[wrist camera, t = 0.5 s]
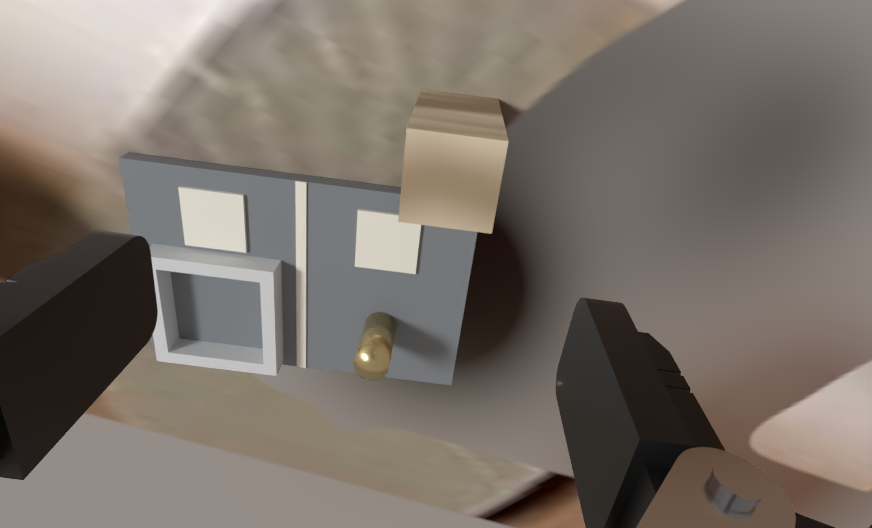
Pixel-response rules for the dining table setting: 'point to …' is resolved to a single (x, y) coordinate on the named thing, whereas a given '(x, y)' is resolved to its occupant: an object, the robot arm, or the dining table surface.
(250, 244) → the board
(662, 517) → the robot arm
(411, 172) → the square pin
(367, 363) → the pin
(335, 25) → the dining table surface
